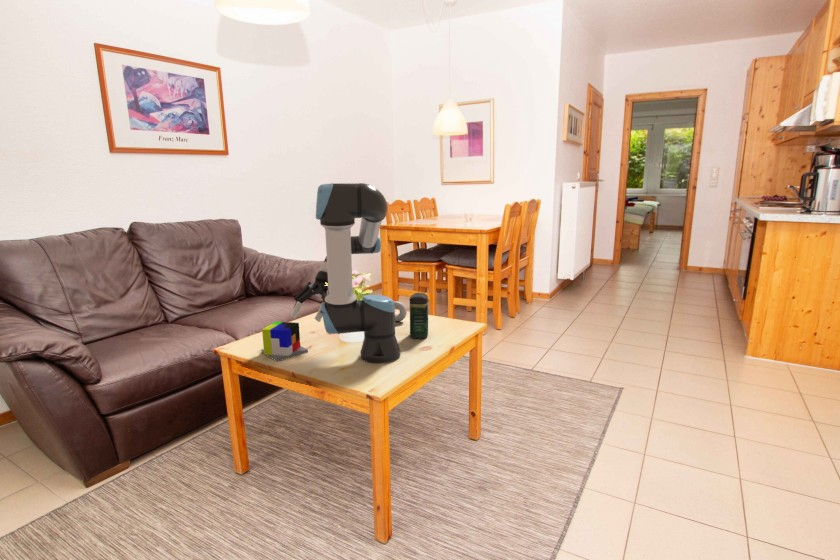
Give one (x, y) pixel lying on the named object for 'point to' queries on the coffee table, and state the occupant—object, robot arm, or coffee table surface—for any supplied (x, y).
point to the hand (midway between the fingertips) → (304, 318)
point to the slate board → (295, 353)
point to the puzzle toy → (281, 338)
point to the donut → (402, 311)
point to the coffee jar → (419, 315)
